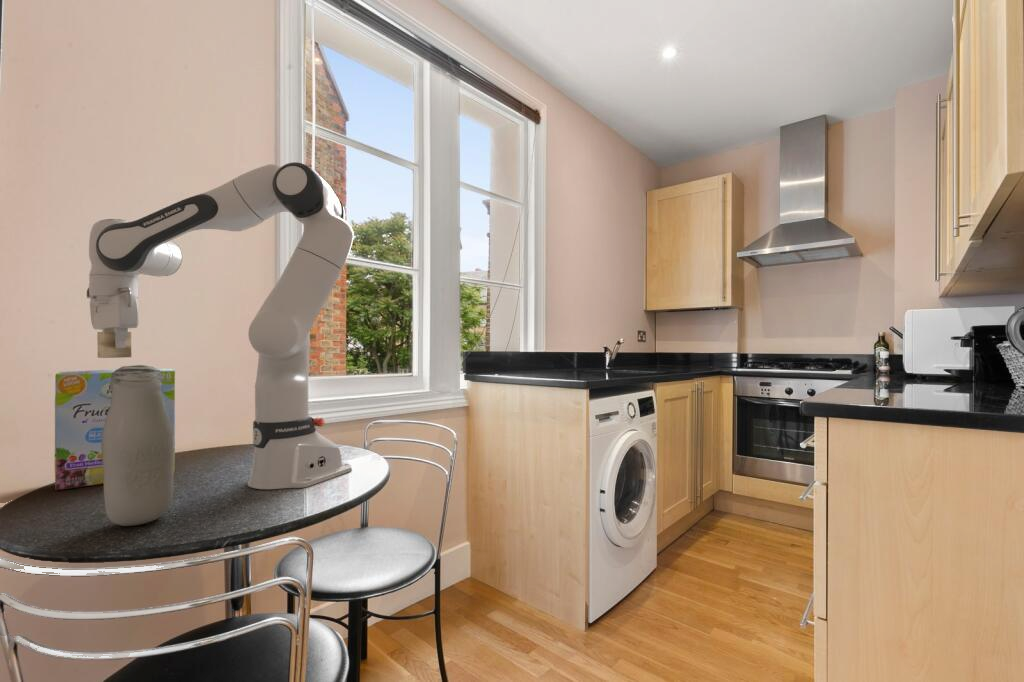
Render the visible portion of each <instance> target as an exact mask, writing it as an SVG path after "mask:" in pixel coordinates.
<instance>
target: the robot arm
mask: <svg viewBox="0 0 1024 682" xmlns="http://www.w3.org/2000/svg"><path fill="white" fill-rule="evenodd" d="M285 212H287V213H291V215H292V216H293V217H294V218H295V219H296V220H297V221H298V222H299V223H301V224H302V225H303V233H302V235H301V237H300V240H299V241H298V243H297V245H296V247H295V249H294V250H293V253H292V255H291V257H290V258H289V261H288V263H287V265H286V266H285V268H284V270H283V272H282V273H281V276H280V278H279V279H278V281H277V283H276V284H275V285H274V287H273V288H272V289H271V291H270V293H269V294H268V296H267V298H266V299H264V301H263V303H262V305H261V307H260V309H259V310H258V311H257V313H256V314H255V316H254V318H253V319H252V321H251V322H250V325H249V327H248V332H247V333H248V341H249V343H250V345H251V347H252V348H253V349H254V351H256V353H257V354H258V361H257V368H256V370H257V372H256V378H255V383H254V415H255V416H254V417H255V418H254V420H253V422H252V443H253V447H254V448H253V449H254V450H253V459H252V464H251V472H250V475H249V478H248V482H247V486H248V487H249V488H252V489H256V490H257V489H258V490H280V489H289V488H290V489H292V488H293V489H294V488H295V489H296V488H297V489H299V488H307V487H311V486H313V485H316V484H319V483H322V482H325V481H327V480H329V479H333V478H336V477H338V476H341V475H344V474H346V473H349V472H351V471H352V470H353V469H352V465H351V464H349V463H347V462H344V461H343V459H342V454H341V449H340V447H339V446H338V445H337V444H336V443H334V442H333V441H332V440H330V439H329V438H327V437H325V436H324V435H322V434H321V433H319V432H317V429H316V427H320V428H321V427H324V425H325V424H326V422H325V421H326V420H325V419H324V418H322V417H315V418H313V417H312V416H310V415H309V378H310V377H309V376H310V375H309V373H310V353H311V352H310V351H311V350H310V349H311V348H310V347H311V333H310V332H311V330H312V327H313V325H314V323H315V322H316V320H317V318H318V316H319V315H320V313H321V311H322V310H323V307H324V306H325V304H327V302H328V299H329V297H330V295H331V293H332V291H333V289H334V287H335V285H336V284H337V281H338V279H339V277H340V276H341V274H342V271H343V269H344V267H345V265H346V262H347V260H348V257H349V255H350V252H351V248H352V246H353V241H354V237H355V233H354V231H353V228H352V226H351V225H350V224H349V223H348V221H346V212H345V207H344V205H343V203H342V201H341V200H340V199H339V197H337V195H336V194H335V192H334V190H333V189H332V187H331V186H330V185H329V183H328V182H326V180H324V179H323V178H322V176H320V174H319V173H318V172H317V171H316V170H315V169H313V168H312V167H311V166H309V165H306V164H304V163H301V162H298V161H297V162H295V161H294V162H288V163H286V164H284V165H282V166H280V165H277V164H266V165H263V166H259V167H257V168H254V169H252V170H249V171H246V172H244V173H243V174H241V175H238V176H236V177H235V178H233V179H231V180H229V181H227V182H225V183H223V184H221V185H219V186H217V187H215V188H213V189H210V190H208V191H206V192H205V191H204V192H202V193H200V194H197V195H193V196H190V197H187V198H184V199H181V200H178V201H177V202H175V203H172V204H170V205H167V206H166V207H163V208H161V209H159V210H156V211H155V212H152V213H150V214H148V215H146V216H143V217H141V218H138V219H135V220H133V221H128V220H124V219H119V218H118V219H117V218H116V219H115V218H108V219H100V220H98V221H96V222H95V223H94V224H93V225H92V227H91V230H90V232H89V239H88V240H89V241H88V258H89V261H90V264H91V265H90V266H91V267H90V271H89V277H88V278H89V279H88V281H89V283H88V288H86V289H87V290H86V298H87V299H90V300H89V310H90V311H89V312H90V321H91V326H92V328H93V329H94V330H96V331H97V330H100V331H101V330H102V331H101V332H115V341H114V348H125V347H126V338H127V334H128V332H129V329H137V328H138V326H139V323H140V316H139V304H138V298H139V275H143V276H144V275H145V276H150V277H151V276H152V277H156V278H157V277H159V278H160V277H169V276H171V275H173V274H175V273H176V272H177V271H178V270H179V269H180V267H181V265H182V262H183V254H182V250H181V248H180V247H179V245H178V244H176V243H175V242H174V241H173V240H174V239H177V238H179V237H181V236H184V235H185V234H187V233H191V232H194V231H200V230H221V231H228V232H242V231H245V230H249V229H252V228H254V227H257V226H259V225H261V224H263V223H264V222H266V221H267V220H269V219H270V218H272V217H274V216H275V215H278V214H280V213H285Z"/></svg>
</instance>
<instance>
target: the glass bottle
mask: <svg viewBox="0 0 1024 682" xmlns="http://www.w3.org/2000/svg"><path fill="white" fill-rule="evenodd" d="M158 369H159V368H156V367H154V366H149V365H142V364H139V365H137V364H136V365H122V366H120V367H119V368H116V369H114V370H115V371H114V372H113V373H112V376H111V381H110V389H111V391H112V392H111V394H112V395H111V405H110V408H109V411H108V415H107V417H106V422H105V425H104V428H103V433H102V444H101V446H102V448H101V449H102V459H103V476H104V484H103V501H104V502H103V503H104V508H105V515H106V516H107V518H108V519H109V521H110V522H111V523H113V524H115V525H118V526H122V527H129V526H130V527H131V526H139V525H144V524H149V523H150V522H153V521H155V520H158V519H159V518H161V517H162V516H164V515H165V514H166V513H167V512H168V511H169V510H170V507H171V505H172V504H173V500H174V473H173V430H172V425H171V422H170V418H169V416H168V414H167V412H166V409H165V406H164V401H163V398H162V395H161V391H160V389H161V386H162V380H161V375H160V370H158Z"/></svg>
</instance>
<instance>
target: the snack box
mask: <svg viewBox="0 0 1024 682" xmlns="http://www.w3.org/2000/svg"><path fill="white" fill-rule="evenodd" d="M157 369H158V370H160V375H161V380H162V386H161V389H160V391H161V395H162V398H163V401H164V406H165V409H166V412H167V414H168V416H169V418H170V422H171V425H172V430H173V474H175V473H174V472H176V471H175V470H176V466H175V464H176V457H175V456H176V454H175V453H176V444H175V443H176V432H175V431H176V409H175V408H176V399H175V398H176V394H175V393H176V392H175V391H176V389H175V388H176V370H175V369H174V368H157ZM115 370H116V369H95V370H94V369H93V370H91V369H90V370H70V371H60V372H56V374H55V377H54V378H55V382H54V384H55V385H54V386H55V390H54V391H55V394H54V483H55V484H54V486H55V487H54V489H55V490H56V491H59V490H66V489H67V490H68V489H73V488H82V487H89V486H95V485H104V476H103V459H102V449H101V448H102V446H101V444H102V433H103V428H104V425H105V422H106V417H107V415H108V411H109V408H110V405H111V395H112V394H111V392H112V391H111V389H110V381H111V376H112V373H113V372H114V371H115Z"/></svg>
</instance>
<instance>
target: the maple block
mask: <svg viewBox="0 0 1024 682" xmlns="http://www.w3.org/2000/svg"><path fill="white" fill-rule="evenodd" d="M96 337H97V338H96V339H97V359H109V358H110V359H113V358H114V359H115V358H118V359H119V358H120V359H122V358H123V359H125V358H132V331H128V334H127V338H126V347H125V348H114V341H115V332H102V331H97V335H96Z"/></svg>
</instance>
